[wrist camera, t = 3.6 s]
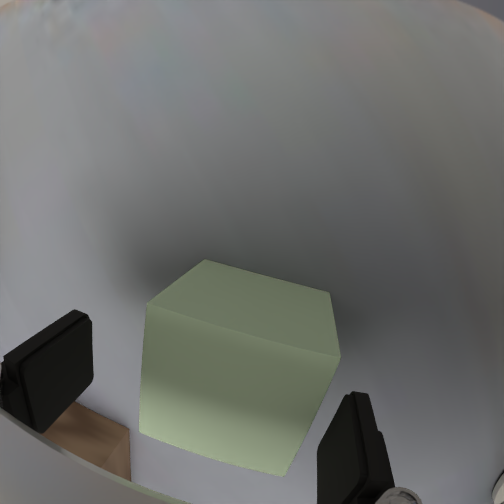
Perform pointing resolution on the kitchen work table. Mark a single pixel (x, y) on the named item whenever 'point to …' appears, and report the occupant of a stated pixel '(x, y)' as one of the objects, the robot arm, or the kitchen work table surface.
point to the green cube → (236, 365)
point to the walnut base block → (93, 439)
